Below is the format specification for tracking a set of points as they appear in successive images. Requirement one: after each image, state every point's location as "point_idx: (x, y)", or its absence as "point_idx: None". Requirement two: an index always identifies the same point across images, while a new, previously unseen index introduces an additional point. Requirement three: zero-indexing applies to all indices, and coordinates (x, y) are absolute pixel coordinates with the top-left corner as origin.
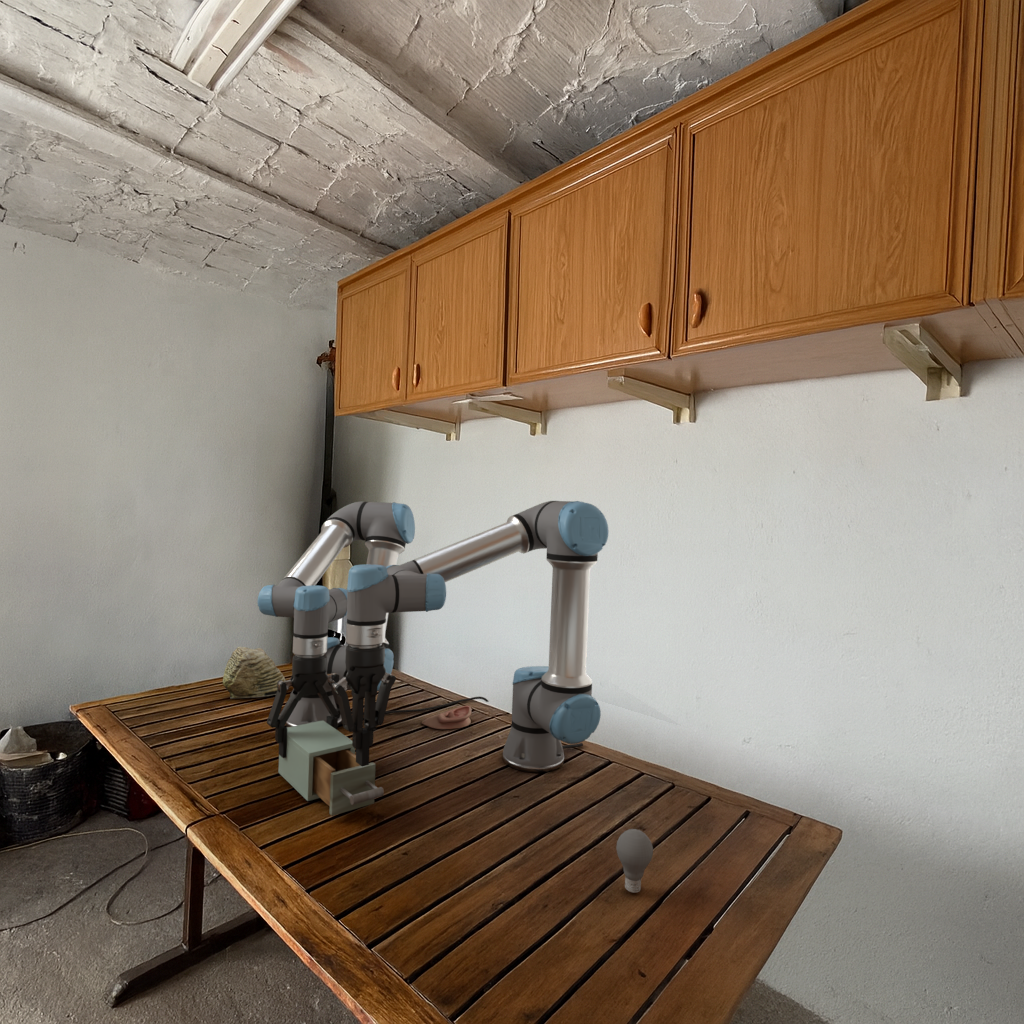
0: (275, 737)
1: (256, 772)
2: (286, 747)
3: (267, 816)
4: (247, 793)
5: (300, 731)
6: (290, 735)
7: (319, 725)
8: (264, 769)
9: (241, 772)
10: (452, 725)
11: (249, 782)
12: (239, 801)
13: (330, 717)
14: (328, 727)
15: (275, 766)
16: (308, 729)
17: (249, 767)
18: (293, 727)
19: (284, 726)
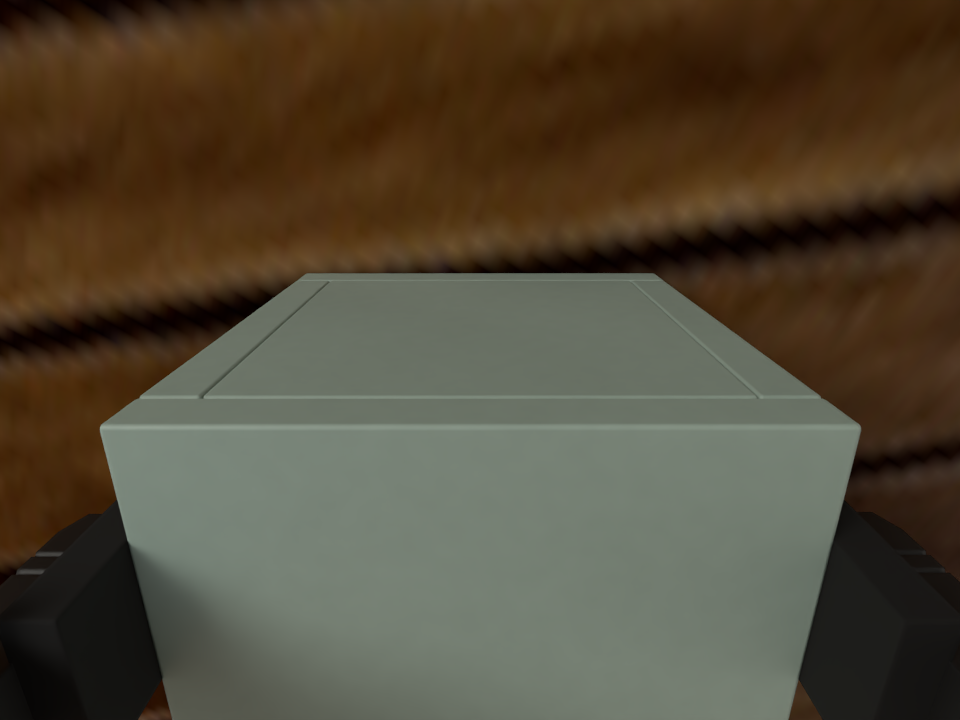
0: (45, 556)
1: (155, 170)
2: None
3: (142, 714)
4: (65, 457)
5: (357, 658)
6: (199, 710)
7: (682, 593)
8: (223, 148)
9: (39, 98)
10: None
11: (88, 315)
12: (15, 523)
13: (909, 699)
14: (734, 710)
15: (316, 139)
16: (479, 649)
17: (111, 26)
18: (314, 479)
19: (71, 697)
